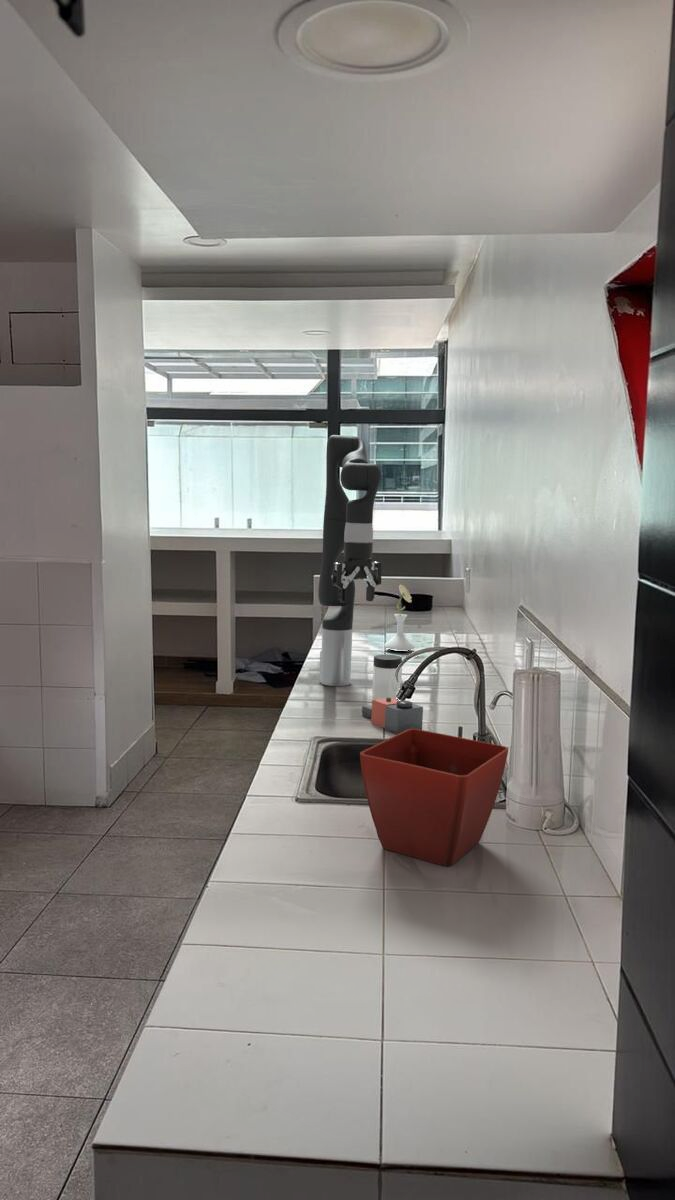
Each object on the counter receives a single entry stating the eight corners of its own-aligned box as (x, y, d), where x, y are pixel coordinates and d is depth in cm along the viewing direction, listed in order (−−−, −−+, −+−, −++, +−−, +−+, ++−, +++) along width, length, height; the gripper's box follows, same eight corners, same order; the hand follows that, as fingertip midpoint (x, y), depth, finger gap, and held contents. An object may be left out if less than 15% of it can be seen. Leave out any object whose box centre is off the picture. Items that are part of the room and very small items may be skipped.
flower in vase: (415, 654, 322) (418, 587, 319) (384, 653, 322) (387, 586, 319) (413, 648, 335) (415, 583, 332) (383, 647, 335) (385, 582, 332)
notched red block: (371, 722, 225) (372, 696, 224) (389, 719, 229) (390, 694, 228) (385, 727, 220) (386, 701, 220) (404, 725, 224) (405, 699, 223)
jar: (382, 702, 247) (383, 660, 245) (365, 696, 254) (367, 655, 252) (407, 699, 252) (409, 658, 250) (390, 693, 259) (391, 653, 257)
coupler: (352, 716, 230) (353, 690, 230) (377, 712, 235) (378, 687, 234) (396, 734, 215) (398, 706, 214) (422, 730, 219) (423, 702, 218)
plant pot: (459, 881, 134) (465, 775, 132) (353, 851, 144) (357, 752, 142) (505, 841, 150) (510, 746, 148) (406, 816, 160) (410, 727, 158)
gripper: (372, 539, 235) (369, 599, 237) (327, 539, 227) (326, 601, 229) (388, 541, 229) (386, 602, 231) (344, 541, 221) (342, 604, 223)
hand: (356, 601), depth 230 cm, fingers open, 8 cm apart
